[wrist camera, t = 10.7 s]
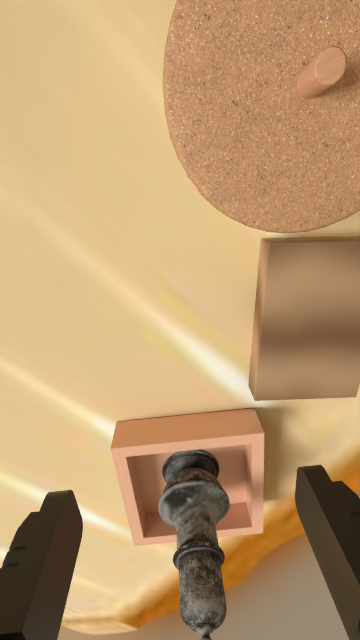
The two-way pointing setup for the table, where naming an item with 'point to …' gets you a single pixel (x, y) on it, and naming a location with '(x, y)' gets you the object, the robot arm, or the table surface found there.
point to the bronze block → (306, 319)
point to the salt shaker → (196, 535)
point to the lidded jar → (267, 108)
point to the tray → (182, 435)
